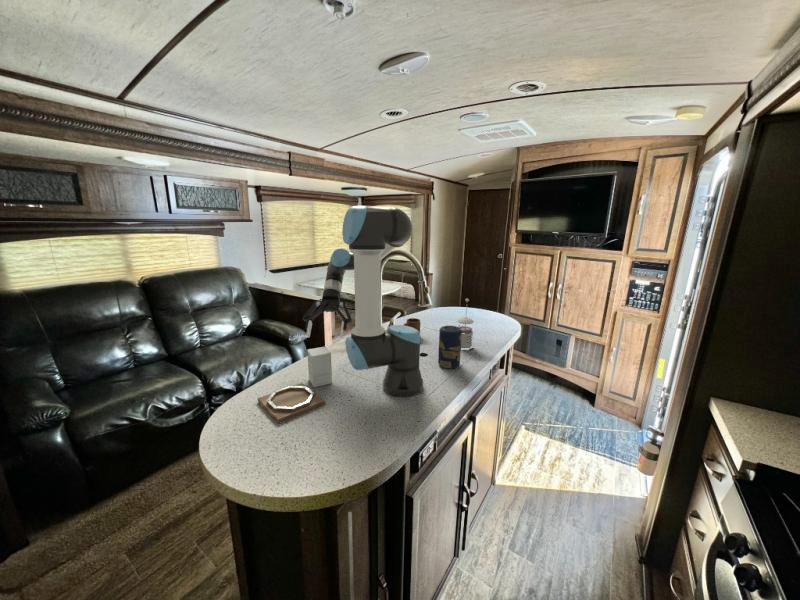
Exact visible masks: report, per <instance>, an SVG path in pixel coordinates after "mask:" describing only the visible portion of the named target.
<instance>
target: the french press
mask: <svg viewBox="0 0 800 600" xmlns="http://www.w3.org/2000/svg"><path fill="white" fill-rule="evenodd" d="M465 302H470V299H469V298H465ZM465 307H466V310H465V314H467V312H468V311H467V310H468V305H466V306H465ZM474 322H475V321H474V319H472V318H470V317H467V316H465V317H460V318H458V319H457V323H459V325H458V326H457V327H459V328H460V329H461V330H462V339H461V348H470V347H471V346H473V342H472V341H473V335H474V332H473V328H472V327H470V326H466V325H471V324H474ZM460 324H463V325H464V326H463V325H462V326H461V325H460Z"/></svg>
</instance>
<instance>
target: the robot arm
mask: <svg viewBox="0 0 800 600" xmlns="http://www.w3.org/2000/svg"><path fill="white" fill-rule="evenodd" d="M341 230H342V231H341V232H342V233H341V235H342V241H343V243H344V244H345V245H348V249H346V248H343V247H338V248H336V249H334V250H333V252H332V254H331V256H330V259H329V263H328V265H327V269H326V275H325V281H324V287H323V291H322V296H321V301H318V300H316V299H315V300H313V303H312V305H311V306H310V307H309V309H307V311H306V312H305V314H304V315H303V316H302V319H303V321H304V322H305V323H306V324H305V329H306V333H305V335H306V337H307V338H310V337H311V332H312V328H313V327H312V326H313V321H314V320H315V319H317V317H319V316H320V315H321V314H323V313H324V312H325V313H329V312H330V313H334V312H335V313H336V314H337V316H338V317H339V318H340V319H341V327H340V333H339V337H340V340H341V339H344V334H345V331H347V329H348V324H349V323H350V324H351V323H352V322H353V319H352V317H351V314H350V313H349V309H348V308H347V306H348V305H347V301H346V300H343V301H342V302H341V301H340V300H341V293H342V287H343V280H344V276H345V273H346V271H354V272H353V274H354V276H353V277H354V316H355V320H354V322H355V325H354V327H353V328H352V329H351V330H350V336H348V337H346V338H345V351H346V354H347V358H348V360H349V363H350V364H351V367H352V368H353V369H354V370H355V371H364V370H366V371H367V370H369V369H375V368H381V367H387V368H386V371H385V374H384V377H383V379H382V389H383V390H384V391H385V392H386V393H387V394H389V395H391V396H394V397H395V396H396V397H401V398H402V397H404V398H405V397H412V396H416V395H418V394H420V393H421V392H422V391H423V390H424V389H423V388H424V379H423V378H422V373H421V369H420V357H421V355H420V354H421V353H420V352H421V332H420V333H419V331H418V330H416V329H415V328H412V327H409V326H404V324H403V325H402V324H392V325H389V326H388V328H387V331H386V329H385V328H384V327H383V325H382V320H381V319H382V318H381V317H382V314H381V311H382V310H381V306H382V305H381V302H382V301H381V297H382V295H381V294H382V293H381V290H382V289H381V282H382V281H381V276H382V275H381V272H382V271H381V269H382V268H381V265H382V260H383V259H384V258H385V257H386V256H388V255H389V254H390V253H391V252H392V251H393V250H395V249H396V248H400V247H402V246H404V245H405V244H406V243H408V241H410V238H411V237H412V234H413V223H412V220H411V218H410V217H409V215H408V214H407V213H406V212H405V211H403V210H402V209H400V208H397V207H394V206H393V207H392V206H388V207H385V206H376V205H375V206H371V205H353V206H351V207H349V208H348V209H347V211H346V213H345V215H344V218H343V222H342V229H341ZM340 306H341V308H343V310H344V313H345V315H346V316H345V315H344V314H343V313H342V312H341V311H340V309H339V307H340ZM317 307H318V309H317ZM346 317H347V318H346Z"/></svg>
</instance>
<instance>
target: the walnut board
mask: <svg viewBox="0 0 800 600" xmlns="http://www.w3.org/2000/svg"><path fill="white" fill-rule="evenodd" d="M293 386H306V387H307V388H309V387H308V386H307V385H305V384H304V383H303V382H300V383H298V384H295V385H293ZM309 389H310V390H311V391H313V390H312V389H311V388H309ZM313 392H314V397H313V399H312V401H311V403H310V405H307V406H305V407H302V408H300V409H298V410H295V411H293V412H292V411H274V410H273V409H272V408H271V407H270V406H269V405H268V404H267V400H268V398H269V397H270V396H271V394H272V393H269V394H266V395H263V396H260V397H257V403H258V402H259V403H260V404H261V405H262V406H263V407H262V406H261V405H260V404H259V403H258V404H259V405H260V406H261V407H262V408H263V409H264V410H265V411H266V412H267V413H268V415H269V416H270V417H271V416H272V417H273V418H274V419H275V420H276V421H277V422H276V421H275V420H274V419H273V418H272V419H273V420H274V421H275V422H276V423H277V424H278V423H279V424H281V423H280V422H282V423H284V422H286V421H289V420H291V419H293V418H295V417H298V416H302V415H304V414H305V413H308V412H310V411H312V410H314V409H317V408H319V407H322V406H324V405H325V404H326V400H325V399H324V398H322V396H320V395H319V394H317V393H316V392H315V391H313ZM309 396H310V395H309V394H308V393H307V392H306V391H304V390H289V391H286V392H283V393H280V394H278V395H276V396H275V397H274V399H273V400H272V402H273V403H274V404H275V405H276V406H280V407H293V406H296V405H298V404H301V403H303V402H306V401H307V400H308V398H309ZM288 419H289V420H288ZM283 421H284V422H283Z"/></svg>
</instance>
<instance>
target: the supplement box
mask: <svg viewBox="0 0 800 600" xmlns="http://www.w3.org/2000/svg"><path fill="white" fill-rule="evenodd" d="M306 351H307V364H308V365H307V369H308V370H307V371H308V380H309V382H310V384H311V385H312V387H313V388H317V387H321V386H322V387H323V386H326V385H330V384H333V371H332V369H333V368H332V353H331V352H330V350H329V349H328V348H327V347H326V346H321V347H315V348H308V349H306Z"/></svg>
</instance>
